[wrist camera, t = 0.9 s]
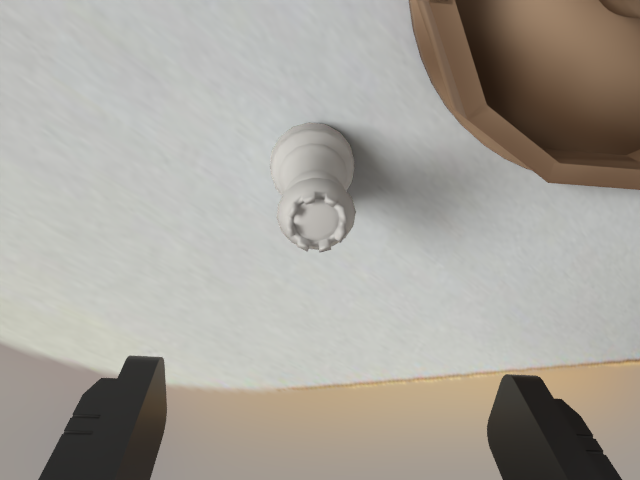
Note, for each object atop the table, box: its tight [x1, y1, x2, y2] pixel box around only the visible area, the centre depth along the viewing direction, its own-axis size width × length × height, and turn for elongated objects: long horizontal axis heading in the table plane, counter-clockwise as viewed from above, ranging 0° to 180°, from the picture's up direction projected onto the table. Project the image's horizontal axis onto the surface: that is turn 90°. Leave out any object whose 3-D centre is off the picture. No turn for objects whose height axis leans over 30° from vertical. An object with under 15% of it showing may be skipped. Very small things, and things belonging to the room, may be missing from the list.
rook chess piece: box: [270, 123, 356, 252], centre depth 24 cm, size 4×4×8 cm
